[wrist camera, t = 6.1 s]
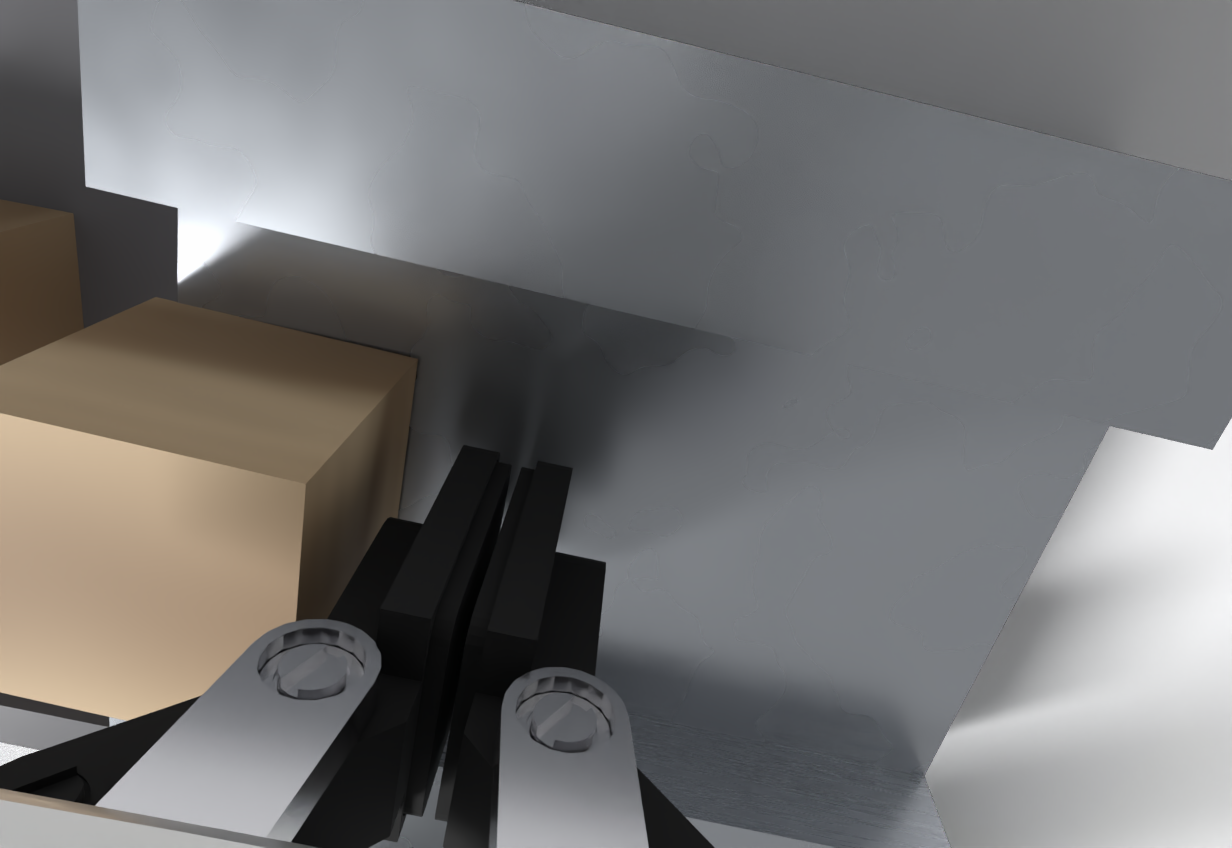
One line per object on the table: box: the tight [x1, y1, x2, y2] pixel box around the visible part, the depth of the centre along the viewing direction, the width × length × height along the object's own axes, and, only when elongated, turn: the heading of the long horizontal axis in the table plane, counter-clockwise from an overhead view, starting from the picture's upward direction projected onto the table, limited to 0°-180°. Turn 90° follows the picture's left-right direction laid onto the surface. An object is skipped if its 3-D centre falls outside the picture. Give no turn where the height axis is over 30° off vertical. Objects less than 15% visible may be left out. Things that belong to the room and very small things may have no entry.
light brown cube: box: [0, 297, 418, 721], centre depth 11 cm, size 4×4×4 cm
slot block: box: [77, 0, 1232, 848], centre depth 14 cm, size 14×14×5 cm
